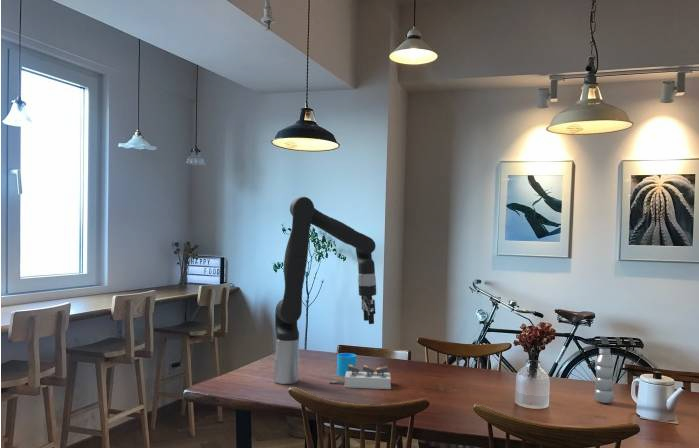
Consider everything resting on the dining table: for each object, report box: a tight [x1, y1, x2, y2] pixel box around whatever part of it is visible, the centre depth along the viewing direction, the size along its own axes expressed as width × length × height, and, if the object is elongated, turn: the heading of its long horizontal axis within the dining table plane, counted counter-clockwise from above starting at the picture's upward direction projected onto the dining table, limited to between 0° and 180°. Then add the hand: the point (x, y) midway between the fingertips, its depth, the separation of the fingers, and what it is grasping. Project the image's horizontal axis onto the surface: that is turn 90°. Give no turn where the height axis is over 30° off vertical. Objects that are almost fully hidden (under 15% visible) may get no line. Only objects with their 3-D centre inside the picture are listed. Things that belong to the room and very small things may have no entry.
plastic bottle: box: [593, 347, 615, 404], centre depth 199 cm, size 6×7×20 cm
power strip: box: [329, 371, 392, 390], centre depth 215 cm, size 25×9×5 cm, turn 87°
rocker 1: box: [348, 364, 361, 373], centre depth 216 cm, size 5×3×2 cm
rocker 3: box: [375, 365, 389, 374], centre depth 216 cm, size 5×3×2 cm
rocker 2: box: [361, 364, 375, 374], centre depth 216 cm, size 5×3×2 cm
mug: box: [336, 352, 357, 377], centre depth 233 cm, size 12×8×8 cm
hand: (368, 322), depth 227 cm, fingers open, 8 cm apart
